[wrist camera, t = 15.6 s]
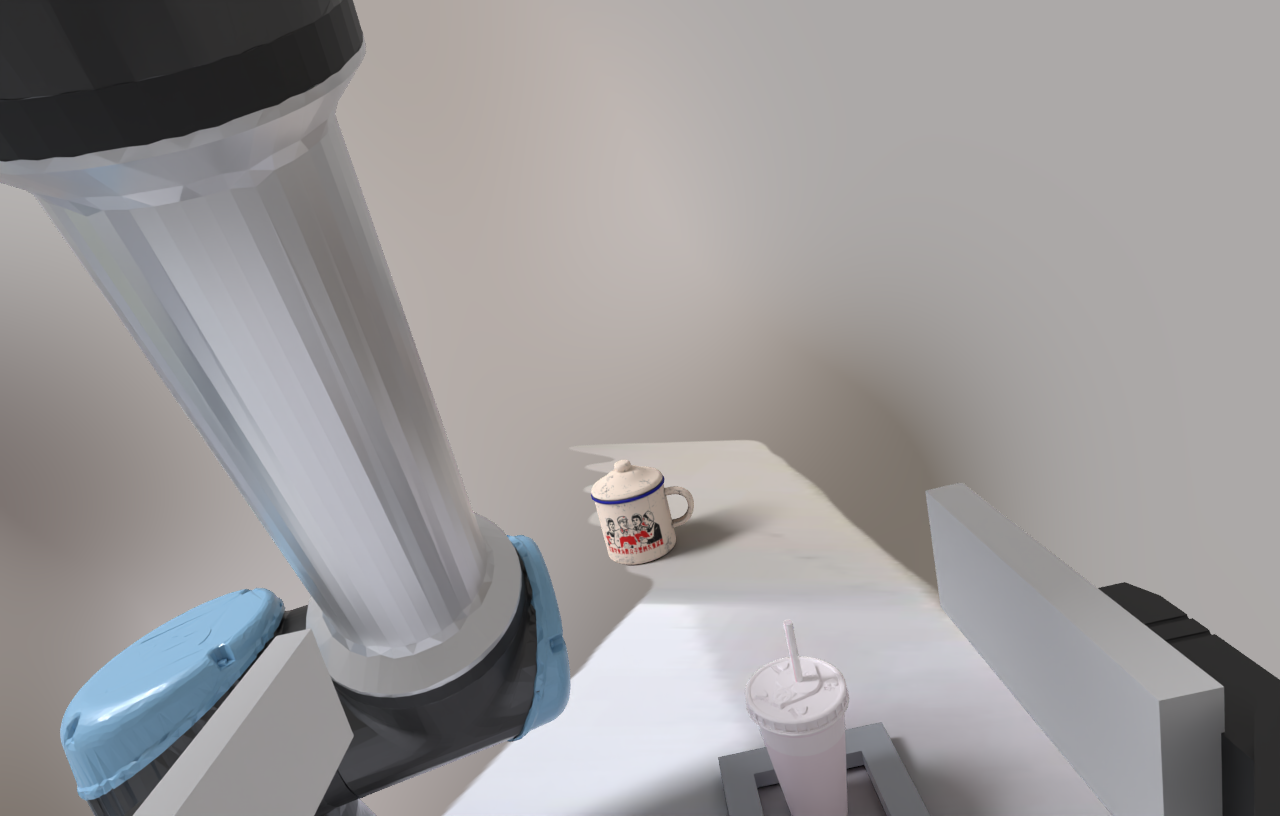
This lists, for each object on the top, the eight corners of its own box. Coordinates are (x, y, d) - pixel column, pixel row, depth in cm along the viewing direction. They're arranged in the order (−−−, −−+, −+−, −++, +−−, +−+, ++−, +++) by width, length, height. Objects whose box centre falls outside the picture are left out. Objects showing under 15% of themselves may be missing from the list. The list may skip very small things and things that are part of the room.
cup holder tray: (804, 1210, 29) (744, 970, 26) (721, 770, 53) (683, 613, 49) (1097, 1152, 29) (1075, 902, 26) (883, 735, 52) (857, 575, 49)
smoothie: (887, 796, 48) (856, 612, 44) (837, 870, 43) (798, 673, 40) (803, 759, 52) (769, 589, 49) (751, 822, 48) (709, 641, 44)
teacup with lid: (601, 572, 87) (578, 483, 84) (613, 537, 95) (591, 455, 92) (700, 557, 85) (679, 465, 82) (703, 522, 93) (684, 438, 90)
